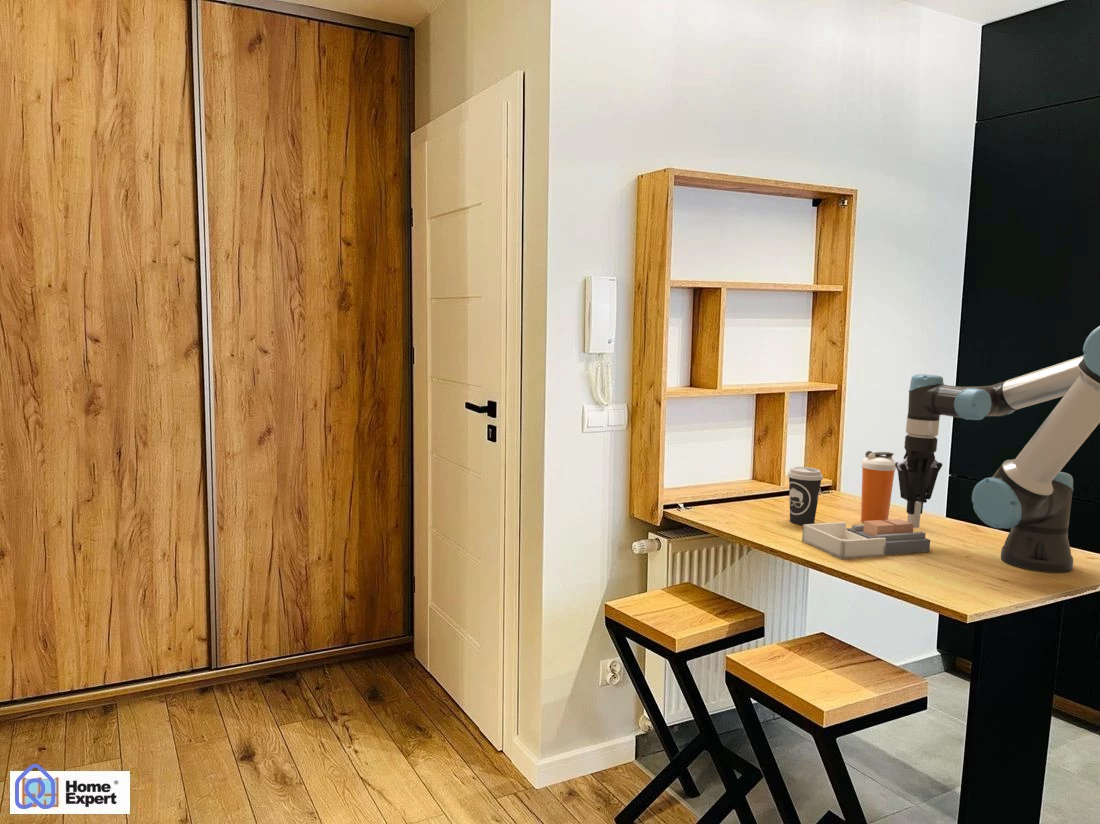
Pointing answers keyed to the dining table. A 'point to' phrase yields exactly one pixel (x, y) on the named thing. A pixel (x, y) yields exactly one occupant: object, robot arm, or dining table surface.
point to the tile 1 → (877, 528)
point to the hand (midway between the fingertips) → (913, 526)
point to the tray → (842, 541)
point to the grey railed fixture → (898, 541)
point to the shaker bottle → (877, 485)
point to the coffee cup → (804, 494)
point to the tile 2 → (901, 526)
